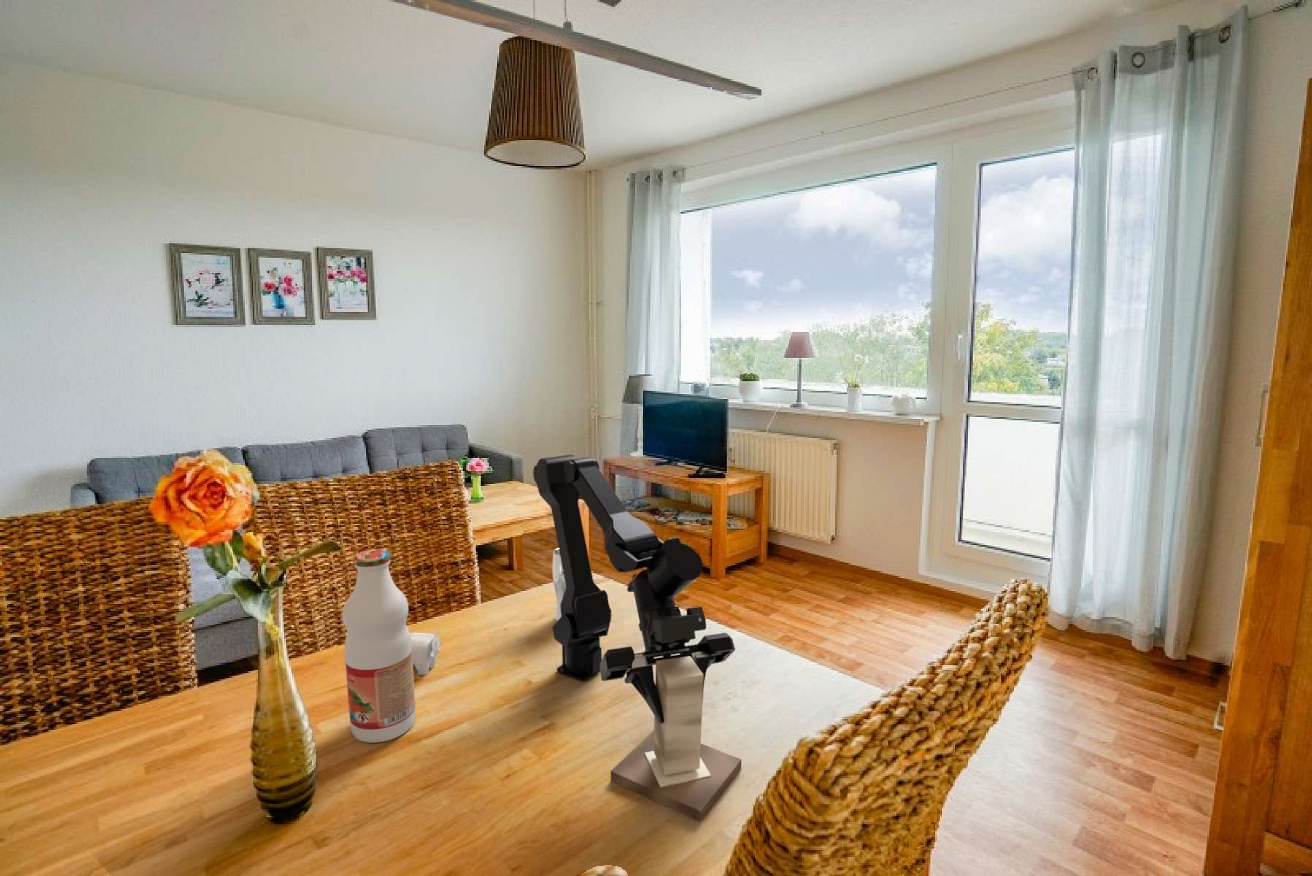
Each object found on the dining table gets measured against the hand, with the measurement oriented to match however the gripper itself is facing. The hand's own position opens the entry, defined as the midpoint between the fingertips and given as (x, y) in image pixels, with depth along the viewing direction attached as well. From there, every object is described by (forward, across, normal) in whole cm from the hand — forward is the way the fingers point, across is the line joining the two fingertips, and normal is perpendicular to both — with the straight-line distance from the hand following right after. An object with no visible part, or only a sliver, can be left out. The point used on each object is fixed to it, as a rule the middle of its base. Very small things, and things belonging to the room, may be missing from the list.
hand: (681, 719), depth 90 cm
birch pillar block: (+4, 0, +6) cm, 7 cm away
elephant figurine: (-23, -35, +37) cm, 56 cm away
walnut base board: (+6, 0, +8) cm, 9 cm away
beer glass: (-32, -5, +45) cm, 55 cm away
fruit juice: (-11, -40, +25) cm, 48 cm away
